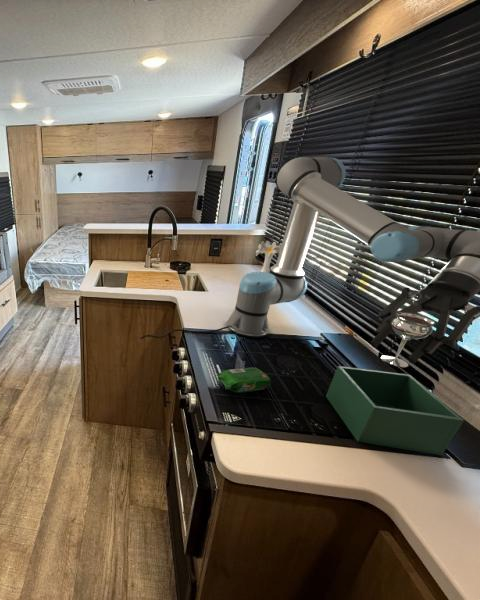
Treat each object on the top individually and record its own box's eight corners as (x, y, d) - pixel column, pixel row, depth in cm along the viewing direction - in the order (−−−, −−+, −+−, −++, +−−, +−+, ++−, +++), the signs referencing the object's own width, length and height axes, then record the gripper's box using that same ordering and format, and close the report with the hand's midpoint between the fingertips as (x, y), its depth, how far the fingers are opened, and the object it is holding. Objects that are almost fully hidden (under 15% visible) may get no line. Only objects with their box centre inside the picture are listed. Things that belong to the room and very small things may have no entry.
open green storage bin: (357, 441, 75) (374, 407, 70) (325, 396, 90) (337, 365, 85) (441, 455, 71) (464, 420, 67) (393, 406, 86) (410, 374, 81)
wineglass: (404, 372, 72) (426, 327, 67) (370, 357, 78) (388, 314, 73) (419, 365, 75) (442, 321, 70) (385, 351, 80) (404, 310, 76)
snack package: (212, 382, 96) (214, 368, 94) (257, 376, 98) (261, 363, 96) (225, 398, 89) (228, 383, 87) (273, 391, 91) (277, 377, 89)
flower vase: (266, 280, 181) (277, 237, 171) (279, 291, 164) (292, 245, 154) (243, 278, 183) (252, 237, 173) (253, 290, 166) (264, 244, 156)
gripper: (524, 304, 66) (448, 383, 67) (408, 276, 83) (349, 340, 84) (527, 284, 62) (447, 368, 63) (405, 260, 79) (343, 326, 80)
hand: (391, 352), depth 74 cm, fingers closed on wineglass, 7 cm apart
